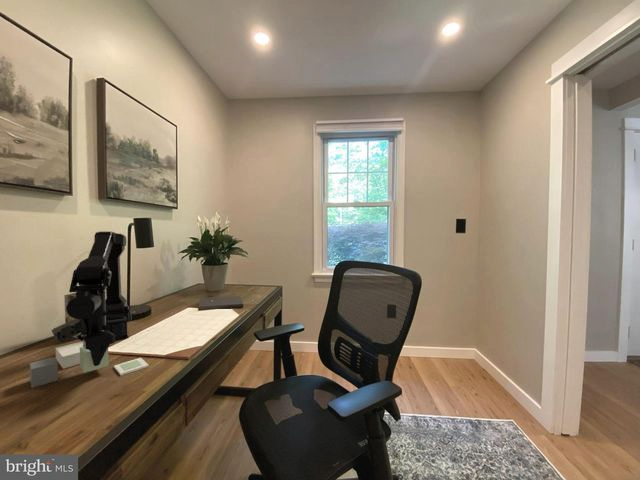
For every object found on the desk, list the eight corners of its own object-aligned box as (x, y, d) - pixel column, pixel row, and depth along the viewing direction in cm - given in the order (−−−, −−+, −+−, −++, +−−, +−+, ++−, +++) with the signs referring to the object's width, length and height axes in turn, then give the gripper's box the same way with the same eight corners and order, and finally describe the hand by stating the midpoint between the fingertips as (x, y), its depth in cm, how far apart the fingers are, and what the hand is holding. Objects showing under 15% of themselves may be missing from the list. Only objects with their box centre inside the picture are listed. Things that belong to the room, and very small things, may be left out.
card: (140, 359, 88) (140, 357, 88) (148, 366, 84) (148, 364, 84) (114, 367, 83) (114, 365, 83) (120, 375, 79) (120, 373, 79)
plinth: (95, 349, 96) (94, 338, 96) (104, 357, 90) (104, 345, 90) (55, 360, 88) (55, 347, 88) (63, 370, 82) (62, 356, 82)
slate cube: (55, 374, 79) (55, 356, 79) (57, 380, 76) (57, 362, 76) (30, 381, 76) (29, 363, 76) (31, 388, 72) (31, 369, 72)
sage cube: (104, 359, 84) (103, 341, 84) (108, 365, 80) (108, 346, 80) (80, 366, 80) (79, 347, 80) (83, 372, 76) (83, 353, 76)
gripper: (50, 308, 79) (51, 361, 80) (58, 323, 67) (60, 386, 68) (99, 300, 88) (100, 349, 88) (114, 312, 76) (116, 369, 76)
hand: (94, 362), depth 80 cm, fingers closed on sage cube, 5 cm apart
